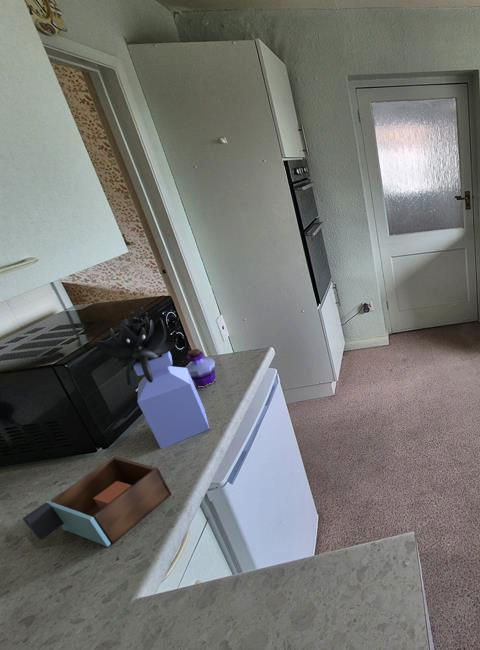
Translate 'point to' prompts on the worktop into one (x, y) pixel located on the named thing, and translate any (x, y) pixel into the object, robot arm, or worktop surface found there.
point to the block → (111, 494)
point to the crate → (124, 508)
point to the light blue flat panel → (64, 522)
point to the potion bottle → (200, 368)
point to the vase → (157, 380)
